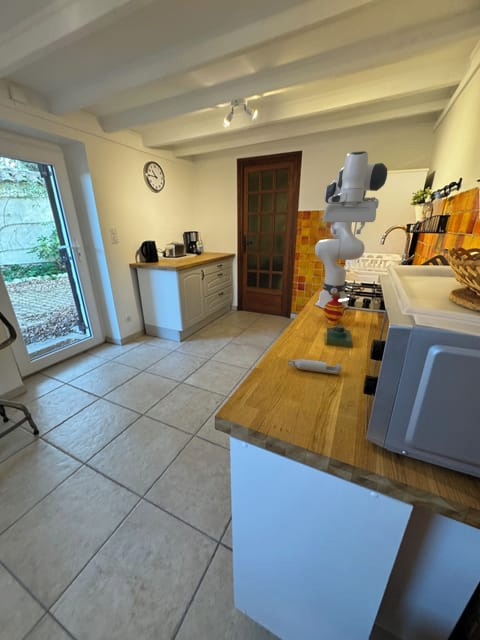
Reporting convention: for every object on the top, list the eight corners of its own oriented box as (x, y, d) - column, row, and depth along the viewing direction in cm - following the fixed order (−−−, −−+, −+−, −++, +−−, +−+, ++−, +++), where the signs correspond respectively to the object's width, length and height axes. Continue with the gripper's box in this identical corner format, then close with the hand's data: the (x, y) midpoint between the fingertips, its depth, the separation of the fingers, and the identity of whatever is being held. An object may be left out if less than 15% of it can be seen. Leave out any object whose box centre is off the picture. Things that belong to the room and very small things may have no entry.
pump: (334, 328, 112) (335, 324, 111) (343, 329, 110) (344, 325, 110) (335, 331, 108) (335, 327, 108) (343, 332, 107) (344, 328, 107)
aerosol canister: (339, 370, 89) (342, 353, 87) (341, 377, 85) (344, 360, 82) (288, 363, 93) (289, 347, 91) (287, 370, 89) (288, 354, 87)
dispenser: (325, 333, 118) (327, 323, 116) (349, 335, 115) (350, 325, 113) (325, 344, 107) (327, 334, 105) (351, 347, 104) (353, 337, 103)
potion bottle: (340, 318, 134) (344, 291, 129) (345, 326, 125) (350, 297, 119) (319, 318, 135) (322, 291, 130) (323, 325, 126) (327, 296, 120)
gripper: (378, 197, 102) (371, 233, 107) (325, 199, 108) (321, 233, 113) (381, 196, 97) (374, 234, 102) (325, 198, 102) (321, 234, 107)
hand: (346, 234), depth 107 cm, fingers open, 8 cm apart
